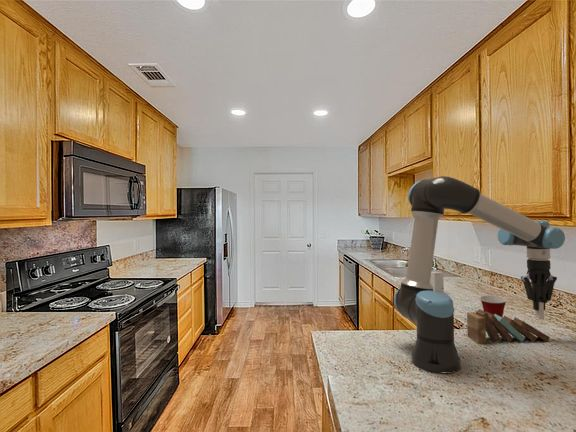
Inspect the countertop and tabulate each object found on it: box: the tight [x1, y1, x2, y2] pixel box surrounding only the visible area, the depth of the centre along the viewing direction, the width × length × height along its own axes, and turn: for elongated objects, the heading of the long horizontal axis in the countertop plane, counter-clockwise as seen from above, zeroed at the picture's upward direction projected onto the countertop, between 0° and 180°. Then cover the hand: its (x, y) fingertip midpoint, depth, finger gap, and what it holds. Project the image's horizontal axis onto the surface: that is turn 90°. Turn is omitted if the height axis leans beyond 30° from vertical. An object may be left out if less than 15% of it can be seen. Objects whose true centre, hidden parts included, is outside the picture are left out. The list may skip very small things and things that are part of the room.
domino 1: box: [475, 309, 502, 343], centre depth 135 cm, size 2×5×12 cm, turn 179°
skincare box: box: [430, 270, 445, 294], centre depth 208 cm, size 8×6×15 cm
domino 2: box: [486, 312, 514, 343], centre depth 135 cm, size 2×5×12 cm
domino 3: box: [494, 314, 526, 343], centre depth 135 cm, size 2×5×12 cm
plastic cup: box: [479, 294, 508, 318], centre depth 154 cm, size 11×11×12 cm
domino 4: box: [503, 315, 538, 343], centre depth 135 cm, size 2×5×12 cm
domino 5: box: [513, 317, 551, 342], centre depth 134 cm, size 2×5×12 cm
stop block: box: [466, 311, 487, 345], centre depth 135 cm, size 3×8×10 cm, turn 179°
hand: (539, 318), depth 134 cm, fingers closed
